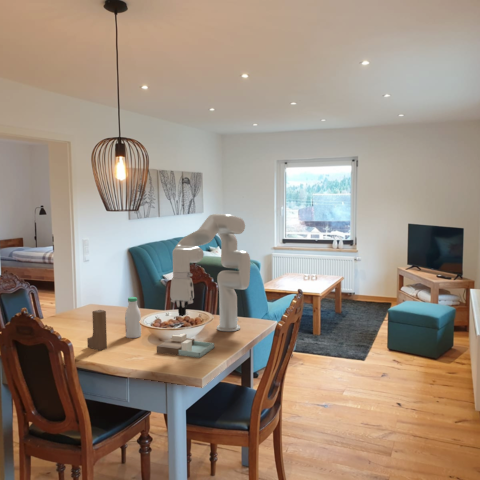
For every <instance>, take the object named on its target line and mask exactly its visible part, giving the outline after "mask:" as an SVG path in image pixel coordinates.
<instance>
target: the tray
mask: <svg viewBox="0 0 480 480" xmlns="http://www.w3.org/2000/svg"><path fill="white" fill-rule="evenodd" d="M213 349H215V343H214V342H208V341H199V340H195V341H194V345H192V351H184V350H178V354H179V355H178V356H180V357H181V356H183V357H189V358H190V357H191V358H196V359H197V358H198V359H200V358H202V357H203V356H205V355H206V354H207V353H210V352H211V351H212V350H213Z"/></svg>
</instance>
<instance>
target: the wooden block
mask: <svg viewBox="0 0 480 480" xmlns="http://www.w3.org/2000/svg"><path fill="white" fill-rule="evenodd" d="M91 312H92V315H91V316H92V336H90V337H87V338H86V339H87V340H86V341H87V348H89V349H93V350H96V351H103V350H106V349H108V342H107V341H108V340H107V338H108V337H107V336H108V335H107V312H106V310H103V309H97V310H93V311H91Z"/></svg>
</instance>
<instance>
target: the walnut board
mask: <svg viewBox="0 0 480 480" xmlns="http://www.w3.org/2000/svg"><path fill="white" fill-rule="evenodd" d="M186 338H187V339H186V340H192V345H194V341H196V340H195V338H191V337H190V338H189V337H186ZM186 340H184V341H186ZM184 341H182V342H184ZM182 342H178V341H172V337H171V338H169V339H167V340H165V341H163V342H162V343H160V344H158V345H157V346H156V353H158V354H166V355H173V356H180V355H179V354H178V350H182Z"/></svg>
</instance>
